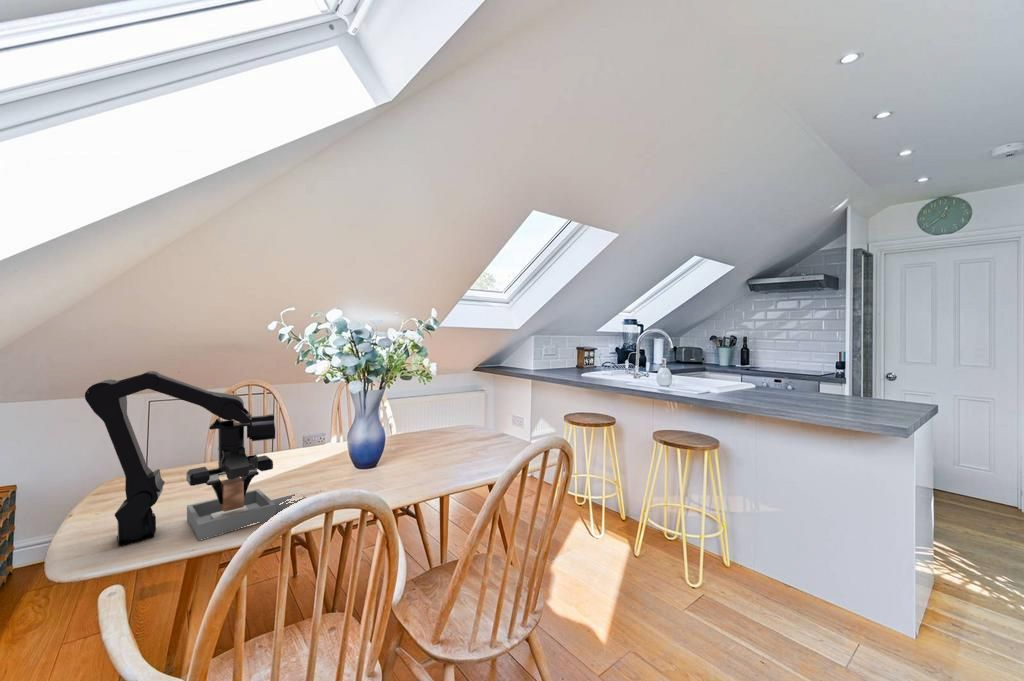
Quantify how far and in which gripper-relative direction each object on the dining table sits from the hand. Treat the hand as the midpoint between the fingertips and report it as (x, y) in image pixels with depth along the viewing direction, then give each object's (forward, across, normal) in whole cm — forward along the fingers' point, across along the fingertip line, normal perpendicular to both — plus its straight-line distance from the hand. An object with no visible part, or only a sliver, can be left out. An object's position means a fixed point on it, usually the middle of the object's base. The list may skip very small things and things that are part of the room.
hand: (231, 501), depth 114 cm
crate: (+5, 0, 0) cm, 5 cm away
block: (+2, 0, 0) cm, 2 cm away
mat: (+5, +14, 0) cm, 15 cm away
